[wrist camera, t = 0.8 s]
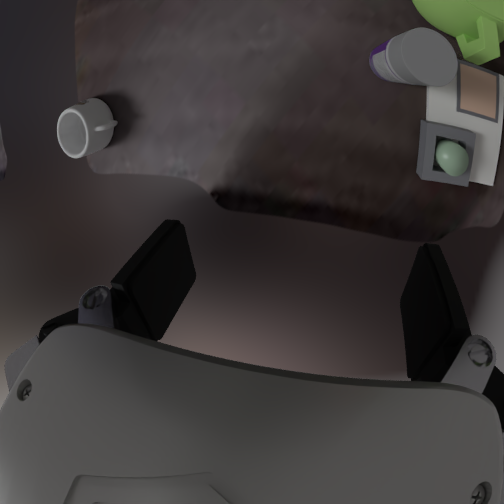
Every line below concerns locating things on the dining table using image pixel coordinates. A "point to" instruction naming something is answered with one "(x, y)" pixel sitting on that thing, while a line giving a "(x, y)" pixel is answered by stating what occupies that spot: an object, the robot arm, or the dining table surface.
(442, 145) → the button
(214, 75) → the dining table surface
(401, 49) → the container
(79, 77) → the dining table surface
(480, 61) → the teapot
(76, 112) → the mug
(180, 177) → the dining table surface
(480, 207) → the dining table surface
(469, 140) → the picture board
